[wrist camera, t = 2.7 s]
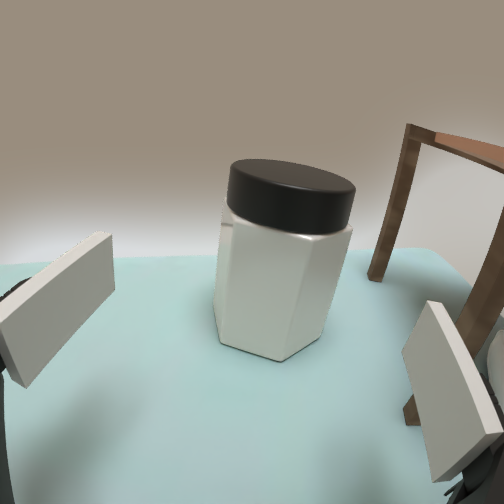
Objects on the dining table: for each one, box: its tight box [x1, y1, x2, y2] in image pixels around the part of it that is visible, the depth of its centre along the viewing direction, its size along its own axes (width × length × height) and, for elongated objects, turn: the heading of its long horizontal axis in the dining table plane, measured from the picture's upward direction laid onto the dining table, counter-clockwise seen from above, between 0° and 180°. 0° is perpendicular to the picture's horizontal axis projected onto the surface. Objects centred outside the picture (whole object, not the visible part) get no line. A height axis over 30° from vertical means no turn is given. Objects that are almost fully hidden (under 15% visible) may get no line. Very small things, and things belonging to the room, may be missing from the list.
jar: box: [213, 159, 356, 361], centre depth 22 cm, size 9×8×12 cm
